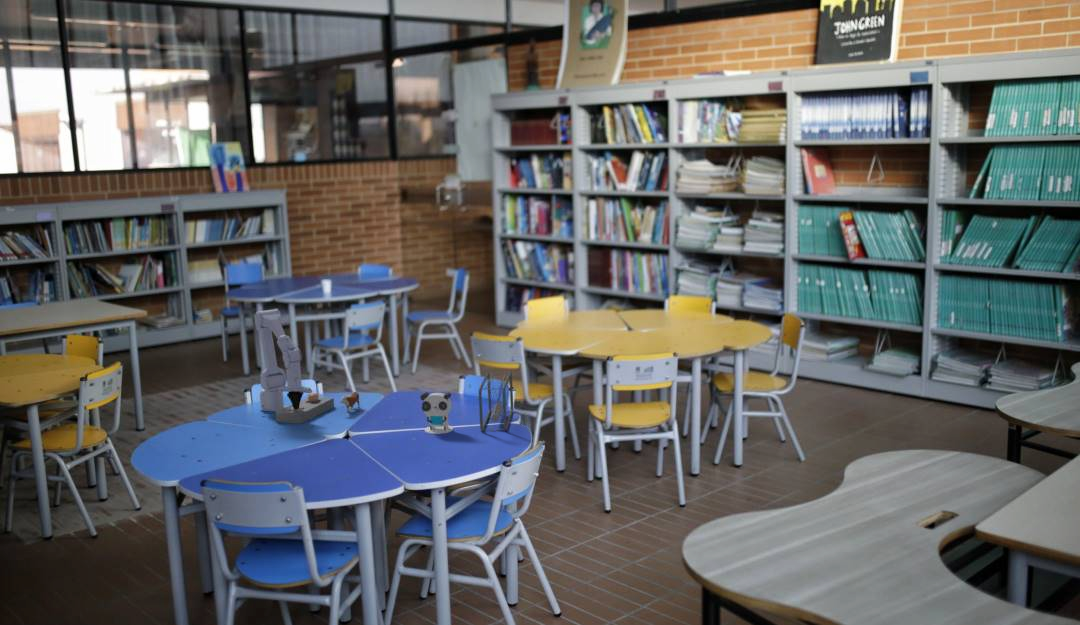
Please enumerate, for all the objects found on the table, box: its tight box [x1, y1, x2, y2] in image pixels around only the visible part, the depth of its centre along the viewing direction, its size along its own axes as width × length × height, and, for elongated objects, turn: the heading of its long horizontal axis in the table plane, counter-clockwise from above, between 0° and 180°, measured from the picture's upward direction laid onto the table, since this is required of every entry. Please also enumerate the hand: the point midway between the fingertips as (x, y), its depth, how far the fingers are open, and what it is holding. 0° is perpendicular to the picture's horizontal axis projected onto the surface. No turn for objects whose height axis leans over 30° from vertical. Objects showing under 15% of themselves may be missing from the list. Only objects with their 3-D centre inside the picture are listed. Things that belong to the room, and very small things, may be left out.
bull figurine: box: [339, 391, 360, 414], centre depth 414 cm, size 4×13×8 cm, turn 163°
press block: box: [275, 396, 335, 425], centre depth 412 cm, size 12×26×4 cm, turn 160°
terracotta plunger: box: [307, 392, 320, 403], centre depth 417 cm, size 4×4×4 cm
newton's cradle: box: [478, 371, 514, 432], centre depth 390 cm, size 30×10×18 cm, turn 176°
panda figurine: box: [420, 391, 454, 435], centre depth 382 cm, size 12×11×15 cm
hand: (296, 408), depth 405 cm, fingers closed, pressing on birch plunger
